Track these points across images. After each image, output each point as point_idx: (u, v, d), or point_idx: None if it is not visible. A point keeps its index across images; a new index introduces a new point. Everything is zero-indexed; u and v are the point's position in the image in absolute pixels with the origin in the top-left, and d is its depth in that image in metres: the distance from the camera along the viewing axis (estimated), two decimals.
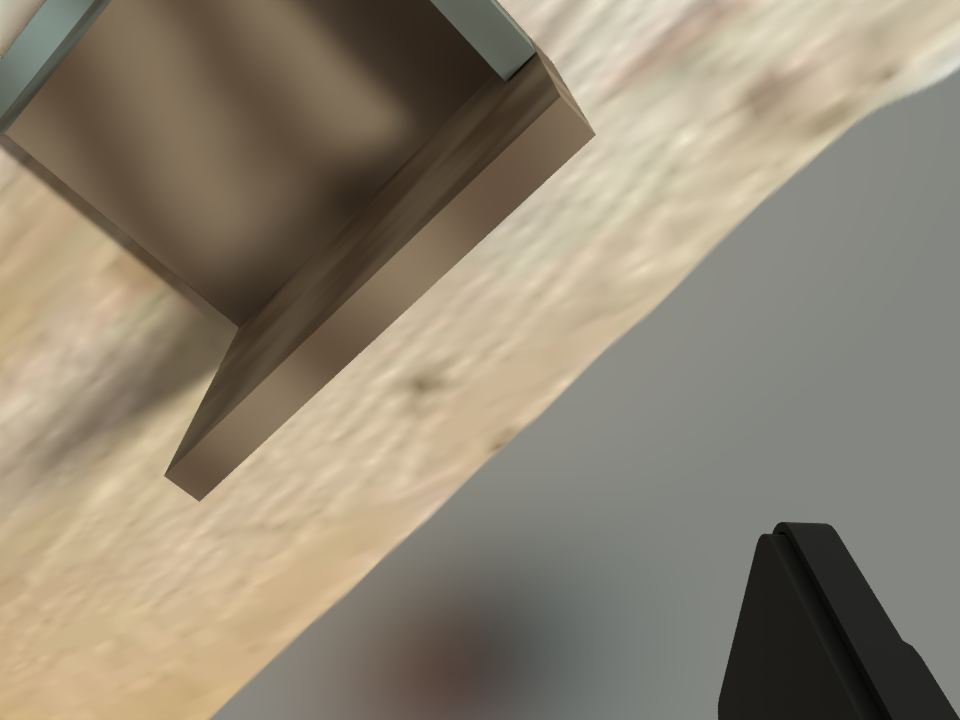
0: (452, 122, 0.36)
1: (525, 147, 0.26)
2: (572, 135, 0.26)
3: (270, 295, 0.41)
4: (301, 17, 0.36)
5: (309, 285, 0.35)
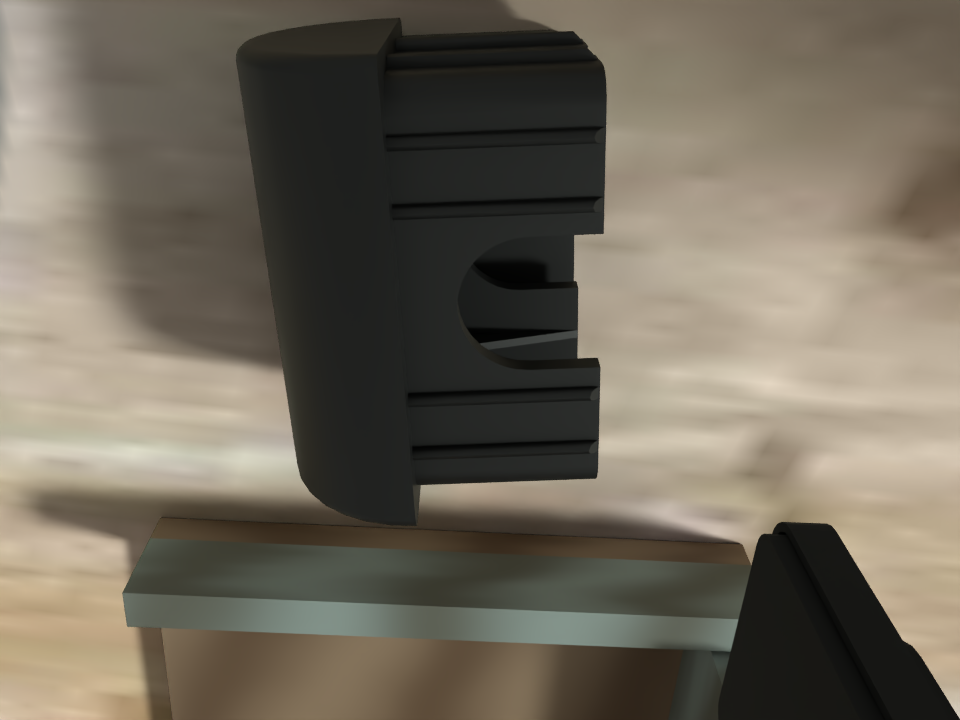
0: None
1: None
2: None
3: None
4: (536, 716, 0.30)
5: None
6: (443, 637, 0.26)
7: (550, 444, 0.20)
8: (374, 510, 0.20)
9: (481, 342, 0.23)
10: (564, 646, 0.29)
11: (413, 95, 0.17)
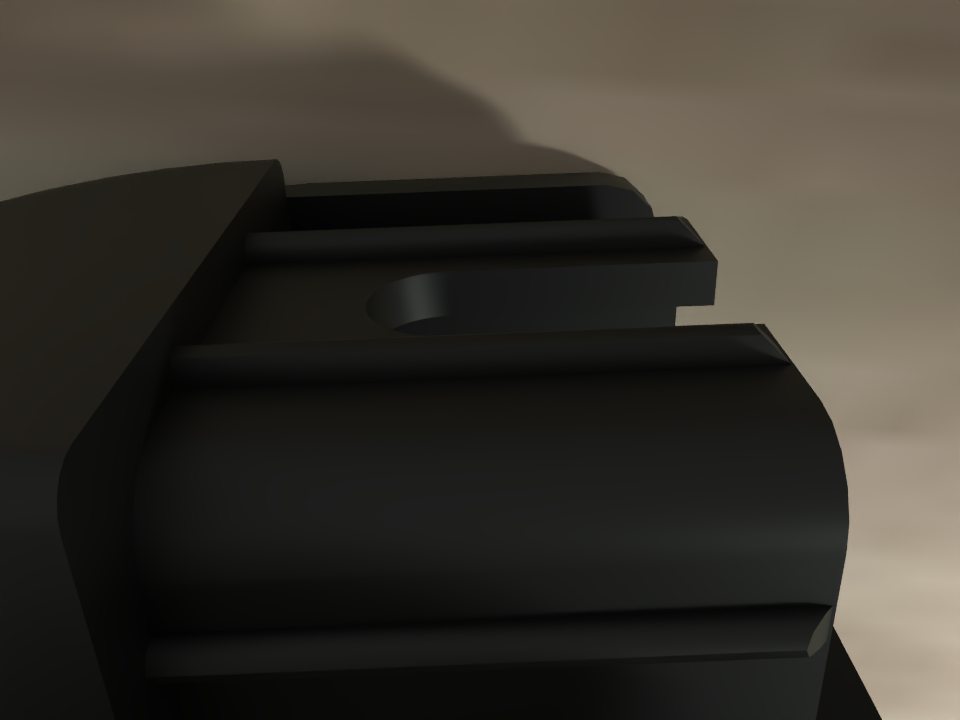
0: None
1: None
2: None
3: None
4: None
5: None
6: None
7: None
8: None
9: None
10: None
11: (229, 523, 0.05)
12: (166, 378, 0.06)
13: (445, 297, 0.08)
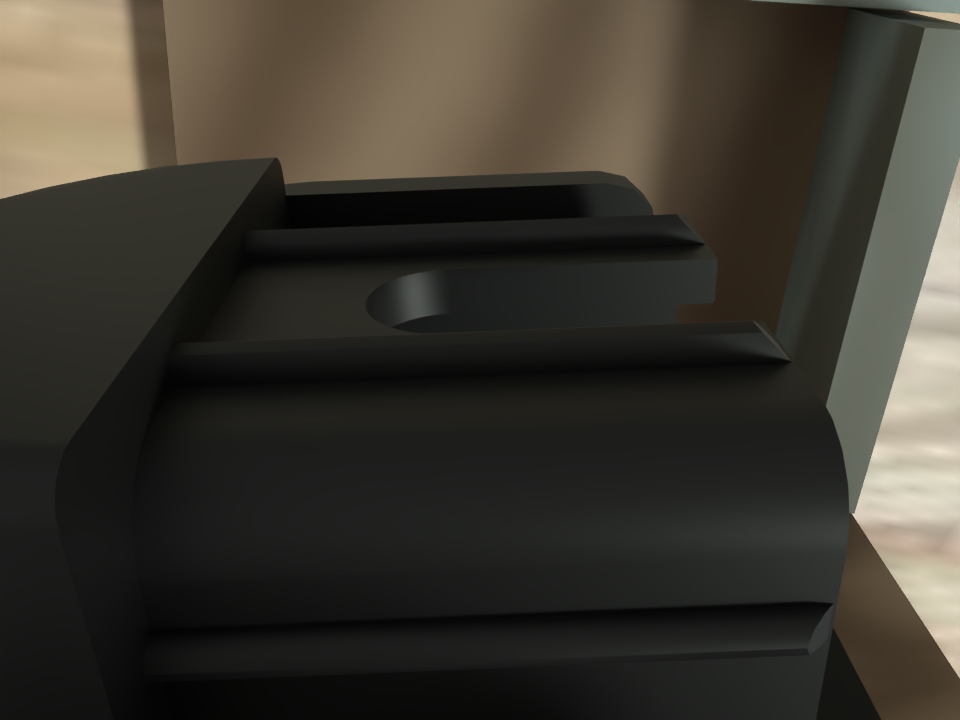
0: None
1: None
2: None
3: None
4: None
5: None
6: None
7: None
8: None
9: None
10: (680, 90, 0.23)
11: (228, 520, 0.05)
12: (165, 375, 0.06)
13: (445, 295, 0.08)
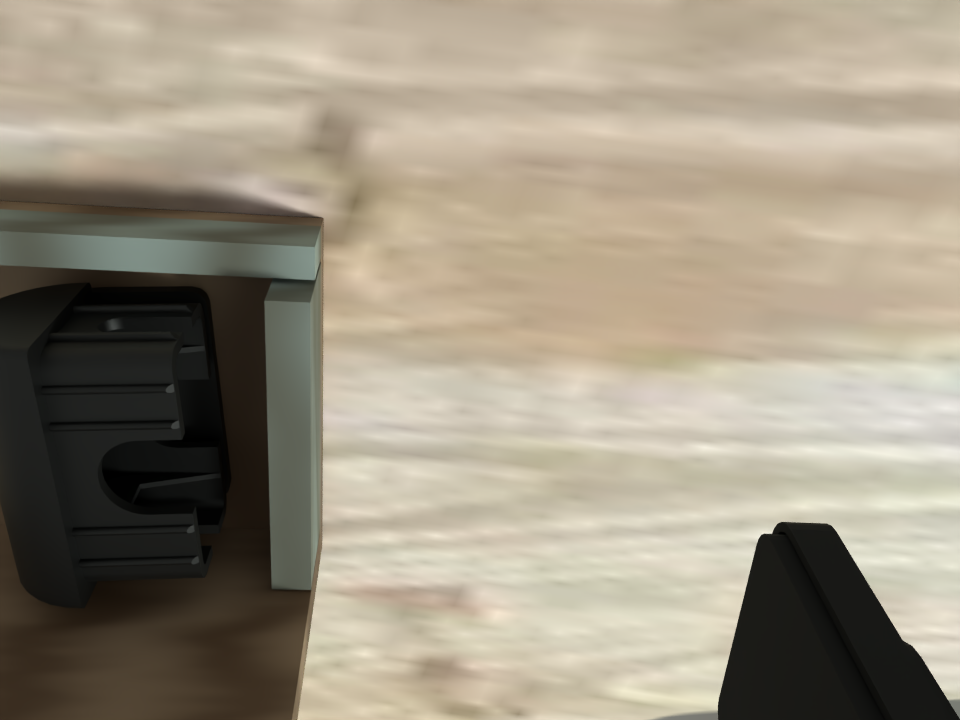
0: None
1: None
2: None
3: None
4: None
5: None
6: (38, 264, 0.31)
7: (168, 557, 0.32)
8: (55, 598, 0.31)
9: (152, 481, 0.35)
10: None
11: (57, 364, 0.28)
12: (47, 339, 0.29)
13: (123, 323, 0.31)
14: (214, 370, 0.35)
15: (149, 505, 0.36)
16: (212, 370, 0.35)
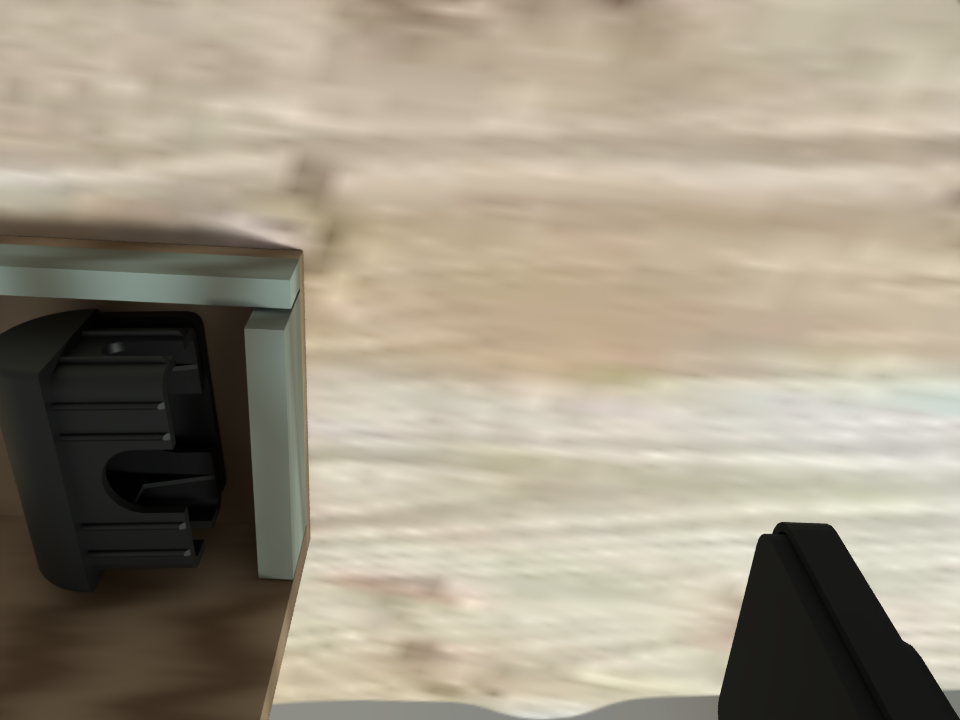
0: (208, 540, 0.42)
1: None
2: None
3: None
4: None
5: None
6: (51, 295, 0.35)
7: (164, 550, 0.36)
8: (67, 584, 0.36)
9: (154, 482, 0.39)
10: None
11: (65, 384, 0.33)
12: (57, 362, 0.34)
13: (124, 346, 0.36)
14: (208, 385, 0.39)
15: (152, 502, 0.40)
16: (206, 384, 0.39)
